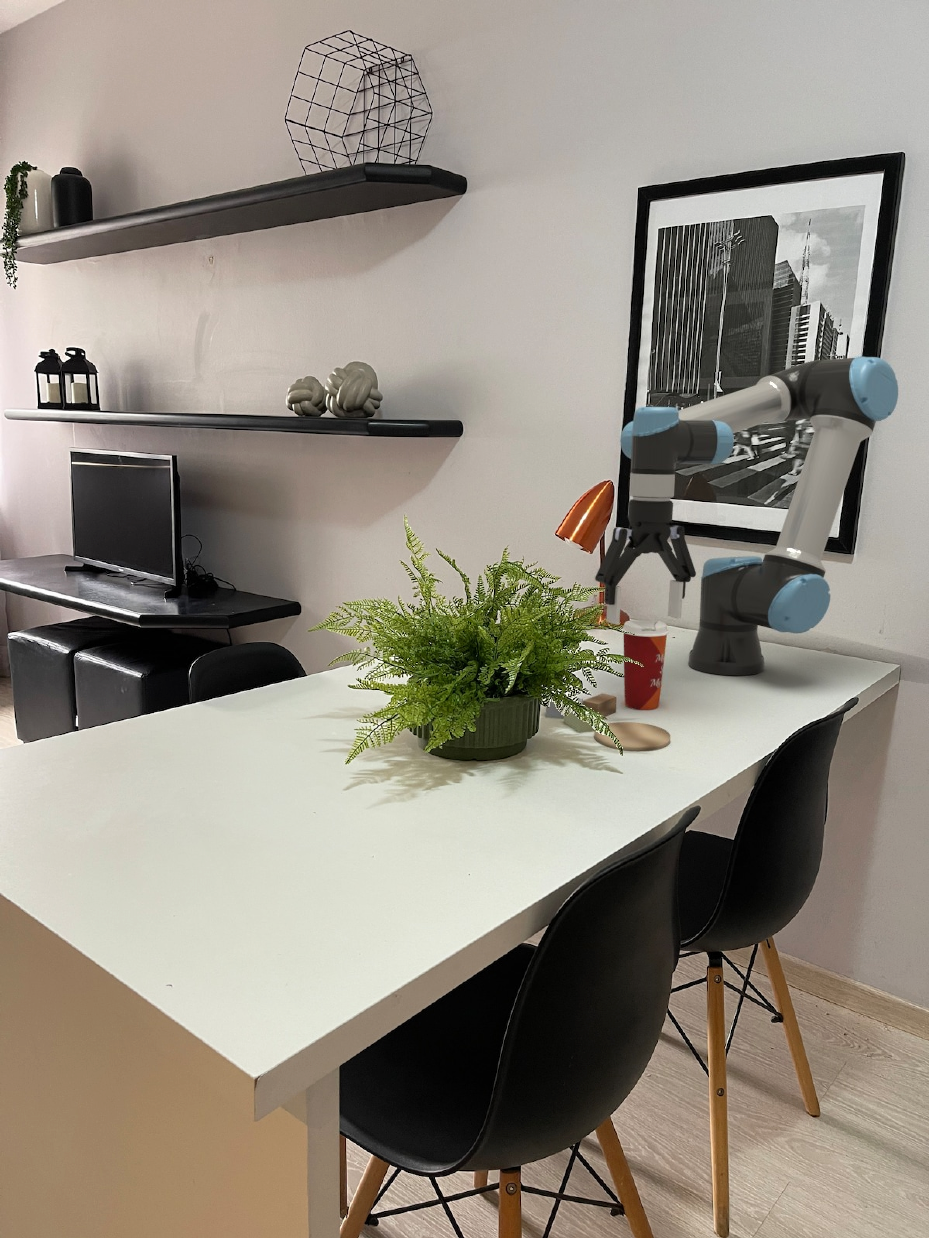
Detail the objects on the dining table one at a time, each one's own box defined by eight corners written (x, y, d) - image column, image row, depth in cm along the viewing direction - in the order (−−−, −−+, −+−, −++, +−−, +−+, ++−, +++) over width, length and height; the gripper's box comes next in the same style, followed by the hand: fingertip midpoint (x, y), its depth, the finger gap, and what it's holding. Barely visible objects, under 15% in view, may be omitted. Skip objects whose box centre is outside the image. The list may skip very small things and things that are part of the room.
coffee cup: (669, 712, 165) (673, 628, 162) (622, 711, 166) (625, 628, 163) (660, 698, 174) (664, 618, 171) (615, 698, 174) (618, 618, 171)
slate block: (582, 715, 164) (582, 698, 163) (580, 720, 161) (581, 703, 161) (547, 713, 165) (548, 696, 165) (545, 718, 162) (546, 701, 162)
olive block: (563, 722, 160) (564, 705, 159) (579, 721, 161) (580, 704, 160) (578, 733, 154) (579, 716, 154) (595, 731, 155) (596, 714, 155)
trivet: (638, 722, 160) (638, 718, 159) (686, 743, 149) (686, 738, 149) (579, 732, 154) (579, 728, 154) (624, 755, 144) (625, 750, 143)
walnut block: (601, 709, 167) (602, 693, 167) (615, 713, 166) (616, 696, 165) (582, 717, 163) (583, 700, 162) (597, 720, 161) (597, 704, 160)
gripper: (692, 496, 171) (684, 611, 175) (578, 498, 160) (573, 621, 164) (721, 499, 165) (712, 618, 169) (604, 501, 153) (598, 629, 157)
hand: (644, 620), depth 166 cm, fingers open, 13 cm apart
